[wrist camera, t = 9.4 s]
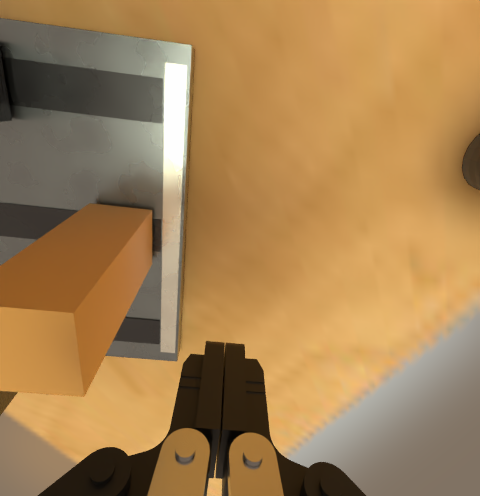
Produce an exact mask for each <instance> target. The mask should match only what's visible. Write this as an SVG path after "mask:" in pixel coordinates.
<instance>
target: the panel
mask: <svg viewBox="0 0 480 496" xmlns="http://www.w3.org/2000/svg"><path fill="white" fill-rule="evenodd" d="M194 57H195V49H194V47H193V46H192V45H187V44H180V43H173V42H166V41H159V40H152V39H145V38H138V37H131V36H124V35H117V34H110V33H103V32H95V31H88V30H81V29H74V28H67V27H60V26H53V25H46V24H39V23H32V22H25V21H18V20H11V19H3V18H0V266H1V265H2V264H4V263H5V262H6V261H8V260H9V259H11V258H12V257H14V256H15V255H16V254H18V253H19V252H21V251H22V250H24V249H25V248H26V247H28V246H29V245H31V244H32V243H34V242H35V241H36V240H38V239H39V238H41V237H42V236H44V235H45V234H46V233H48V232H49V231H51V230H52V229H54V228H55V227H56V226H58V225H59V224H61V223H62V222H64V221H65V220H66V219H68V218H69V217H71V216H72V215H74V214H75V213H76V212H78V211H79V210H81V209H82V208H84V207H85V206H86V205H88V204H89V203H92V204H101V205H111V206H120V207H129V208H139V209H148V210H152V265H151V267H150V269H149V271H148V273H147V275H146V277H145V279H144V281H143V283H142V285H141V287H140V289H139V291H138V293H137V295H136V297H135V298H134V300H133V302H132V304H131V306H130V308H129V310H128V312H127V314H126V316H125V318H124V320H123V322H122V324H121V326H120V328H119V330H118V332H117V334H116V336H115V338H114V340H113V341H112V343H111V345H110V347H109V349H108V351H107V353H106V355H105V356H116V357H129V358H141V359H154V360H167V361H177V360H178V356H179V351H180V339H181V319H182V299H183V279H184V259H185V238H186V218H187V198H188V178H189V158H190V138H191V118H192V97H193V77H194ZM16 394H17V392H10V391H0V415H1V414H2V413H3V411H4V410H5V409H6V407H7V406H8V405H9V403H10V402H11V400H12V399H13V398H14V396H15V395H16Z"/></svg>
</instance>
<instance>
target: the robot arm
mask: <svg viewBox="0 0 480 496" xmlns="http://www.w3.org/2000/svg"><path fill="white" fill-rule="evenodd" d="M264 383H265V382H264V372H263V369H262V367H261V366H260V364H259V362H258V360H257V359H246V358H245V346H244V344H235V343H226V345H225V353H224V343H222V342H211V341H206V346H205V354H204V355H197V354H190V356H189V357H188V358H187V360H186V361H185V362H184V363H183V367H182V372H181V378H180V382H179V388H178V392H177V397H176V402H175V406H174V411H173V416H172V421H171V426H170V430H169V432H168V434H167V436H166V437H165V439H164V440H163V441H162V442H161V443H160V444H159V445H157V446H156V447H154V448H153V449H151V450H148V451H145V452H142V453H138V454H135V455H131V456H128V455H127V454H126V453H125V452H124V451H123V450H121V449H118V448H114V447H106V448H102V449H99V450H97V451H95V452H93V453H91V454H90V455H89V456H87V457H86V458H85V459H84V460H82V461H81V462H80V463H78V464H77V465H76V466H75V467H73V468H72V469H71V470H70V471H68V472H67V473H66V474H65V475H63V476H62V477H61V478H60V479H58V480H57V481H56V482H55V483H53V484H52V485H51V486H49V487H48V488H47V489H46V490H44V491H43V492H42V493H40V494H39V495H38V496H207V488H208V480H209V478H213V477H214V470H215V463H216V478H221V479H222V496H366V495H365V494H364V493H363V492H362V491H361V490H360V489H359V488H358V487H357V486H356V485H355V484H354V483H353V481H351V480H350V478H349V477H348V476H347V475H346V474H345V473H344V472H343V471H341V469H339V468H337V467H336V466H334V465H333V464H329V463H326V462H318V463H315V464H313V465H311V466H310V467H309V468H307V467H304V466H302V465H300V464H297V463H295V462H293V461H291V460H289V459H287V458H285V457H284V456H283V455H281V454H280V453H279V452H278V450H277V449H276V448H275V446H274V445H273V443H272V440H271V437H270V432H269V422H268V412H267V402H266V395H265V393H266V392H265V385H264ZM216 456H217V460H216Z"/></svg>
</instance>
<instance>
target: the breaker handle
mask: <svg viewBox="0 0 480 496" xmlns="http://www.w3.org/2000/svg"><path fill="white" fill-rule="evenodd" d="M151 265H152V210H148V209H139V208H129V207H120V206H111V205H101V204H92V203H89V204H88V205H86V206H85V207H84V208H82V209H81V210H79V211H78V212H76V213H75V214H74V215H72V216H71V217H69V218H68V219H66V220H65V221H64V222H62V223H61V224H59V225H58V226H56V227H55V228H54V229H52V230H51V231H49V232H48V233H46V234H45V235H44V236H42V237H41V238H39V239H38V240H36V241H35V242H34V243H32V244H31V245H29V246H28V247H26V248H25V249H24V250H22V251H21V252H19V253H18V254H16V255H15V256H14V257H12V258H11V259H9V260H8V261H6V262H5V263H4V264H2V265H1V266H0V391H10V392H24V393H38V394H53V395H67V396H81V397H84V396H85V394H86V392H87V390H88V388H89V386H90V384H91V382H92V381H93V379H94V377H95V375H96V373H97V371H98V369H99V367H100V365H101V363H102V361H103V359H104V357H105V355H106V353H107V351H108V349H109V347H110V345H111V343H112V341H113V340H114V338H115V336H116V334H117V332H118V330H119V328H120V326H121V324H122V322H123V320H124V318H125V316H126V314H127V312H128V310H129V308H130V306H131V304H132V302H133V300H134V298H135V297H136V295H137V293H138V291H139V289H140V287H141V285H142V283H143V281H144V279H145V277H146V275H147V273H148V271H149V269H150V267H151Z"/></svg>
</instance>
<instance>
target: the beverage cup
mask: <svg viewBox="0 0 480 496" xmlns="http://www.w3.org/2000/svg"><path fill="white" fill-rule="evenodd" d="M462 170H463V175H464V178H465V179H466V181H467V182H468V184H469V185H471V186H473V187H474V188H476V189H479V190H480V134H479V135H478V136H477V137H476V138H475V139H474V140H473V142H472V143H471V144H470V145H469V147H468V149H467V151H466V153H465V156H464V158H463V165H462Z"/></svg>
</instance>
